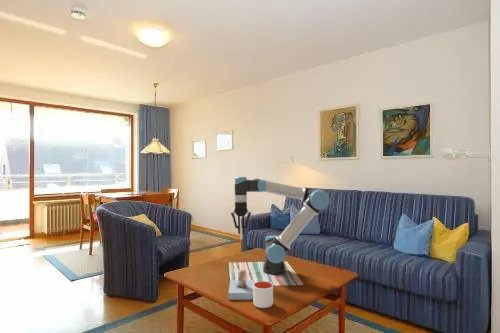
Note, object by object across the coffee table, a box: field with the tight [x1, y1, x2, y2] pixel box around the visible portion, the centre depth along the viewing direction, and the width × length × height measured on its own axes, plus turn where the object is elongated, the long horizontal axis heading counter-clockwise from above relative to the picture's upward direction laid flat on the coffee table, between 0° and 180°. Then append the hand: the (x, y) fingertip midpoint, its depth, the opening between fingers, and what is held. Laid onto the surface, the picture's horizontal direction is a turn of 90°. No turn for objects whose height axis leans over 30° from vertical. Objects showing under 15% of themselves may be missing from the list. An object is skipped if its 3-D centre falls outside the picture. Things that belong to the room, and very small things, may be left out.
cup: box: [252, 280, 274, 309], centre depth 157 cm, size 10×10×10 cm
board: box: [227, 279, 255, 301], centre depth 172 cm, size 14×18×4 cm
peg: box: [237, 269, 247, 288], centre depth 172 cm, size 4×4×12 cm
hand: (241, 239), depth 194 cm, fingers closed
